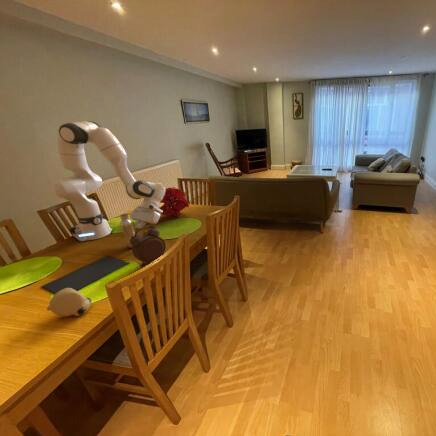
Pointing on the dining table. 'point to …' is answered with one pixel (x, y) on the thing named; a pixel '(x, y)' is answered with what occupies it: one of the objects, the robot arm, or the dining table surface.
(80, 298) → the beige rounded lump
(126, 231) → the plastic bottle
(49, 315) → the dining table surface
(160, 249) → the alarm clock
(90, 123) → the robot arm
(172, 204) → the bouquet
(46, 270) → the dining table surface
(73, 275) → the mat
